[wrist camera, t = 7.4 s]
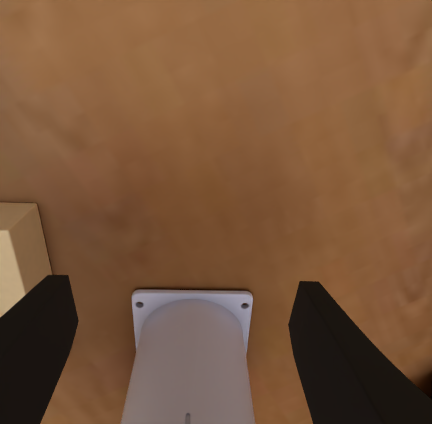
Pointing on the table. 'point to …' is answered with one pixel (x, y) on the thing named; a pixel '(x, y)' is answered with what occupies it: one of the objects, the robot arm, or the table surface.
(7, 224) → the button housing
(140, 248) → the table surface
